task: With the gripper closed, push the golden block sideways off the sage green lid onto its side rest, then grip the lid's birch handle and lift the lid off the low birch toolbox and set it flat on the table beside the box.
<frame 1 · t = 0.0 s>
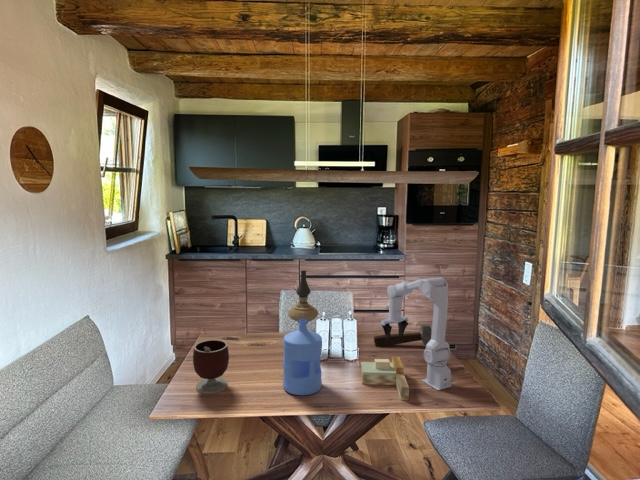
hand: (394, 337, 193), 10 cm above the table, tool pointing down, fingers open, 7 cm apart
golden block: (397, 364, 172), point 7 cm above the table, slide at 0.0 cm
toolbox: (381, 378, 172), on the table
mate gourd: (211, 387, 164), on the table
lid: (381, 371, 172), point 3 cm above the table, touching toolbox
oil lamp: (302, 350, 201), on the table
water jug: (302, 387, 165), on the table
hammer: (403, 346, 209), on the table
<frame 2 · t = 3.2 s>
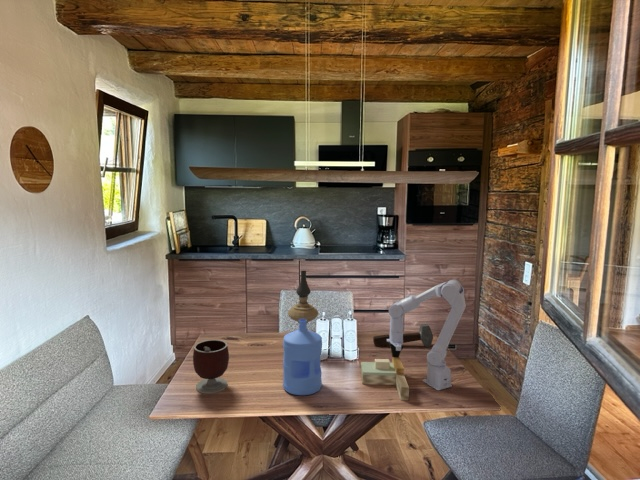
hand: (395, 360, 177), 6 cm above the table, tool pointing down, fingers closed
golden block: (397, 365, 171), point 6 cm above the table, slide at 0.7 cm, touching gripper
everything else where it was.
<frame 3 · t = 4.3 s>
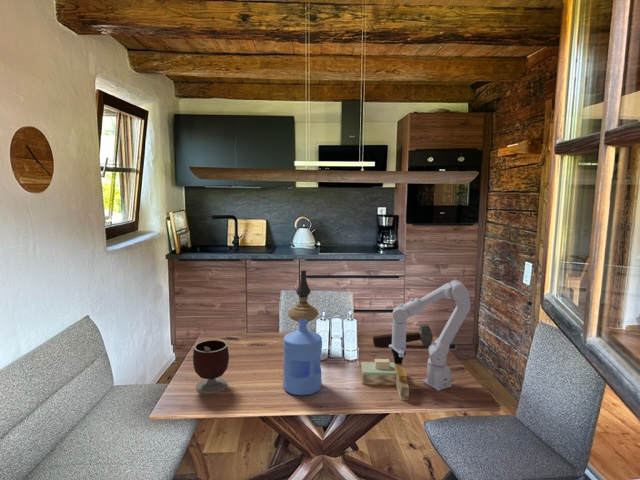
hand: (397, 366, 171), 6 cm above the table, tool pointing down, fingers closed
golden block: (400, 372, 164), point 6 cm above the table, slide at 7.2 cm, touching gripper
everything else where it was.
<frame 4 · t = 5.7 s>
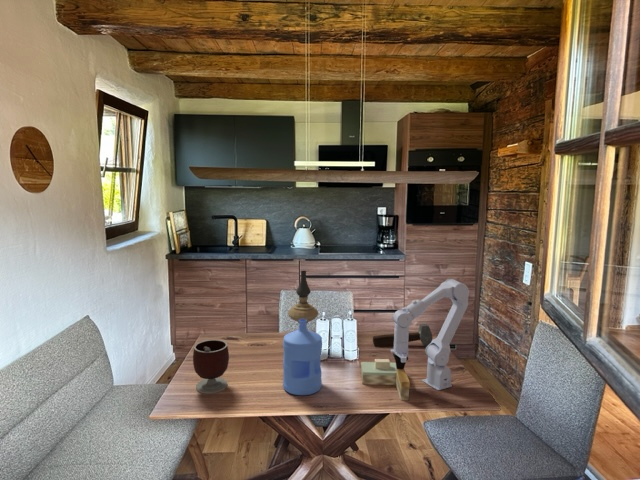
hand: (399, 371, 166), 6 cm above the table, tool pointing down, fingers closed
golden block: (402, 378, 159), point 6 cm above the table, slide at 12.2 cm, touching gripper
everything else where it was.
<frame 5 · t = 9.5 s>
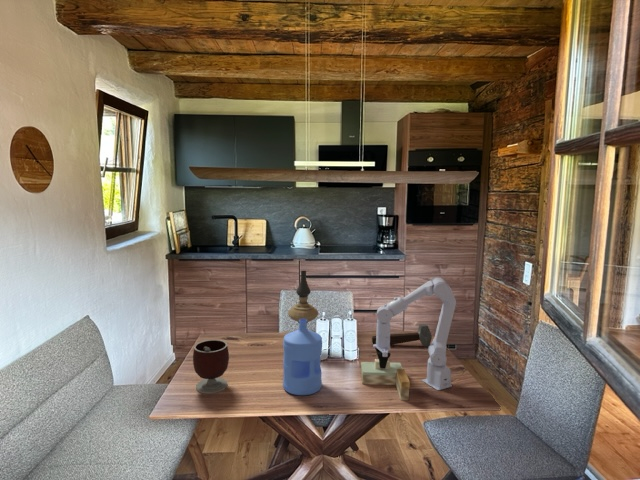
hand: (382, 366, 172), 6 cm above the table, tool pointing down, fingers closed on lid, 3 cm apart
golden block: (402, 378, 159), point 7 cm above the table, slide at 12.2 cm
lid: (381, 371, 172), point 3 cm above the table, touching gripper, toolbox
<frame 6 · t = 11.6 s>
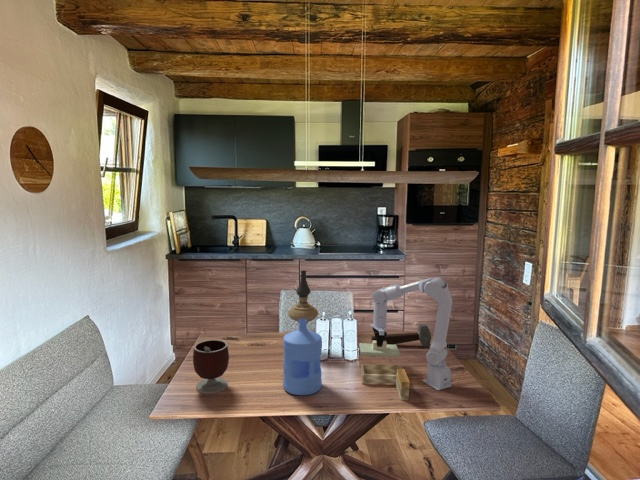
hand: (379, 344, 182), 10 cm above the table, tool pointing down, fingers closed on lid, 3 cm apart
lid: (378, 352, 183), point 7 cm above the table, touching gripper
when the fingers open (4 cm above the table, at t = 13.8 s): lid stays where it is, on the table.
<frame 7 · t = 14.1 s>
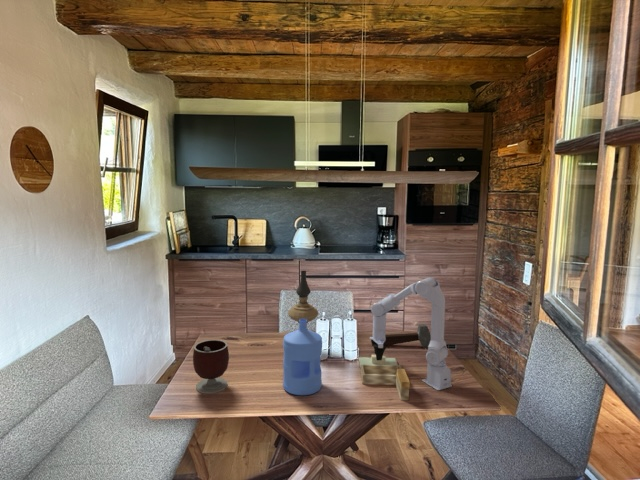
hand: (378, 357, 185), 4 cm above the table, tool pointing down, fingers open, 6 cm apart
lid: (378, 366, 185), on the table
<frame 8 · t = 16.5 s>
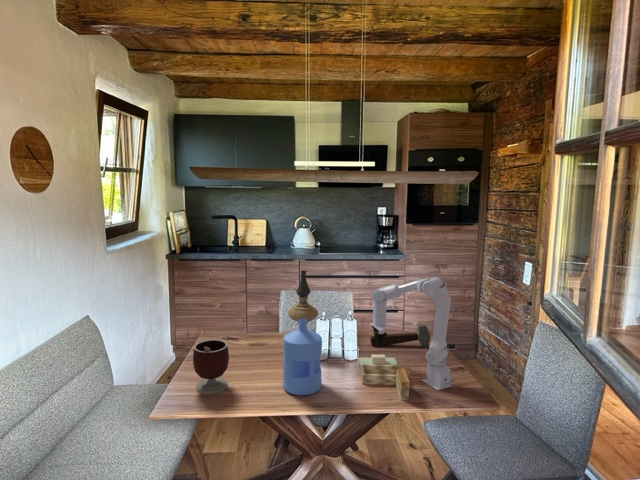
hand: (378, 343, 184), 10 cm above the table, tool pointing down, fingers open, 7 cm apart
at the end: golden block slide at 12.2 cm; lid touching table; lid inside the target area on the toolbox (0.2 cm from its centre), point 0.0 cm above the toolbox's base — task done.
